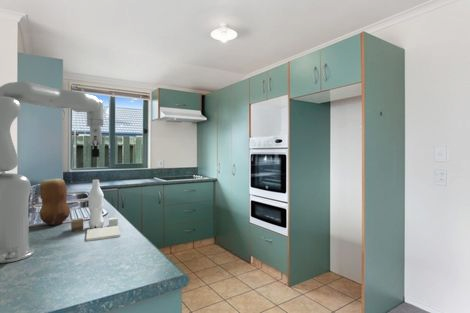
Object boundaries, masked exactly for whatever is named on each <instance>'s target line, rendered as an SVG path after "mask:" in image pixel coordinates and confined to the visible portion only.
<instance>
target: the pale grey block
mask: <svg viewBox="0 0 470 313" xmlns="http://www.w3.org/2000/svg"><path fill="white" fill-rule="evenodd" d="M118 220H119V219H118V217H109V218H108V227H112V226H118V227H119V225H118V224H119V222H118Z"/></svg>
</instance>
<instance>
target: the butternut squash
mask: <svg viewBox="0 0 470 313" xmlns="http://www.w3.org/2000/svg"><path fill="white" fill-rule="evenodd" d="M39 190H40V191H39V192H40V193H39V195H40V200H41V207H40V210H39V218H40V220H41V221H42V222H43V223H44V224H47V225H50V226H53V225H54V226H57V225H58V226H59V225H61V224H63V222H65V221H66V219H68V218H69V217H70V212H71V210H70V207H69V204H68V202H67V194H68V190H67V186H66V182H65V180H64V179H62V178H52V179H43V180H41V182H40V185H39Z"/></svg>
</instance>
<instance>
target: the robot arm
mask: <svg viewBox="0 0 470 313" xmlns="http://www.w3.org/2000/svg"><path fill="white" fill-rule="evenodd" d="M23 104H28V105H29V104H31V105H35V106H40V107H46V108H52V109H53V108H54V109H70V110H72V111H74V112H75V113H76V112H77V113H86V126H87V127H89V141H90V144H91V145H90V146H92V148H91V157H92V158H100V147H99V146H102V142H103V141H102V140H103V137H102V127H104V102H103V101H102V99H99V98H97V97H96V96H95V95H93V94H89V93H86V92H81V91H75V90H67V89H62V88H55V87H51V86H47V85H42V84H38V83H35V82H31V81H25V80H24V81H23V80H22V81H15V82H14V81H13V82H7V83H5V84H3V85H1V86H0V264H5V263H11V262H17V261H22V260H24V259H27V258H29V257H31V256H32V255H33V254H34V253H35V249H34V248H32V247H30V237H29V236H30V235H29V234H30V231H29V229H30V228H29V227H30V226H29V202H30V201H29V199H30V195H31V191H32V185H31V181H30V179H29V178H28V177H26V176H25V175H23V174H19V173H9V172H10V171H12V170H14V169H15V168H17V166H18V164H19V157H18V154H17V151H16V149H15V144H14V142H13V139H12V136H11V126H12V124H13V122H14V121H15V120H16V119H17V117H19V115H20V114H21V112H22V105H23ZM7 172H8V173H7Z"/></svg>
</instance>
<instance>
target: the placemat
mask: <svg viewBox="0 0 470 313" xmlns="http://www.w3.org/2000/svg"><path fill="white" fill-rule="evenodd" d="M120 237H121V232H120V228H119V225H118V226H112V227H109V226H105V227H104V226H103V227H100V228H96V227H95V228H94V229H91V228H90V229H89V228H88V229H87V230H86V238H85V242H91V241H98V240H105V239H112V238H120Z"/></svg>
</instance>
